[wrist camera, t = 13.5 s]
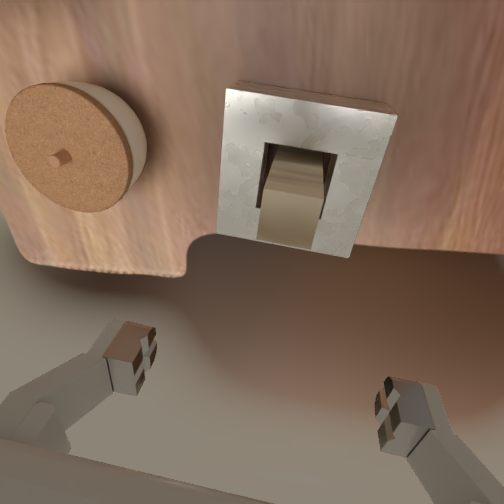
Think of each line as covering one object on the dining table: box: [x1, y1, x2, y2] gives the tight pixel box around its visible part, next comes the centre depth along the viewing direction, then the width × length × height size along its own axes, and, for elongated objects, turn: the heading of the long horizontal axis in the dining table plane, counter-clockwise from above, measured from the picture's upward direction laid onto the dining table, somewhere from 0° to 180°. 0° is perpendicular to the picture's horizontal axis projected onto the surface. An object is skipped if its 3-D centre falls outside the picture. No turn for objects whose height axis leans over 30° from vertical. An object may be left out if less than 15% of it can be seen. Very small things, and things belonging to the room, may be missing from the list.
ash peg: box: [256, 144, 324, 250], centre depth 28 cm, size 4×4×12 cm
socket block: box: [216, 80, 398, 258], centre depth 31 cm, size 13×13×5 cm
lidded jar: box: [5, 81, 147, 212], centre depth 31 cm, size 11×11×9 cm
